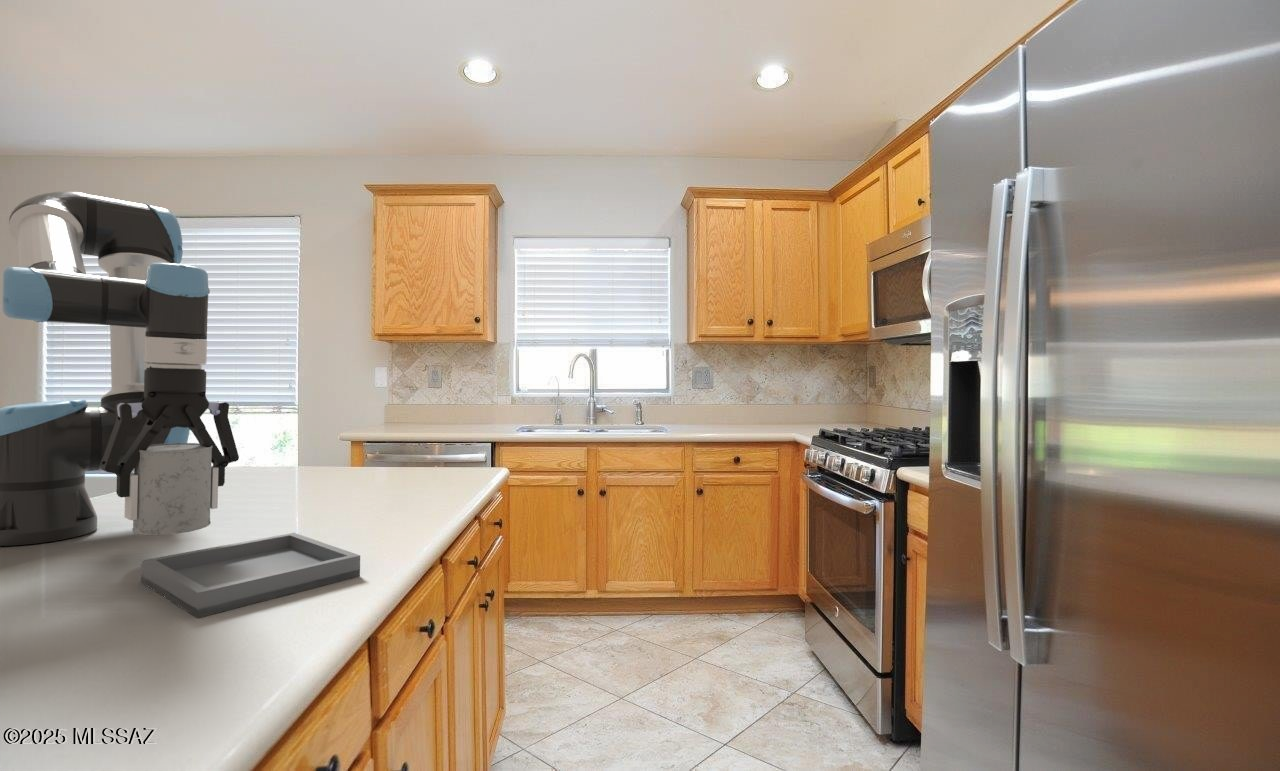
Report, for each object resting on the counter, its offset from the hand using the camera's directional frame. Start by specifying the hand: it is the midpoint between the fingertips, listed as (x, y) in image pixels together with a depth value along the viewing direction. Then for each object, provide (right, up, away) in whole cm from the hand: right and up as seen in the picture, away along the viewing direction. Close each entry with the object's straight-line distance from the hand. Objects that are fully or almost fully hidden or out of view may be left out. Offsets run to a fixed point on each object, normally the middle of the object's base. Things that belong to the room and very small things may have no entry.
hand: (172, 512), depth 93 cm
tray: (+17, -8, -8) cm, 20 cm away
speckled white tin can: (0, -2, 0) cm, 2 cm away
